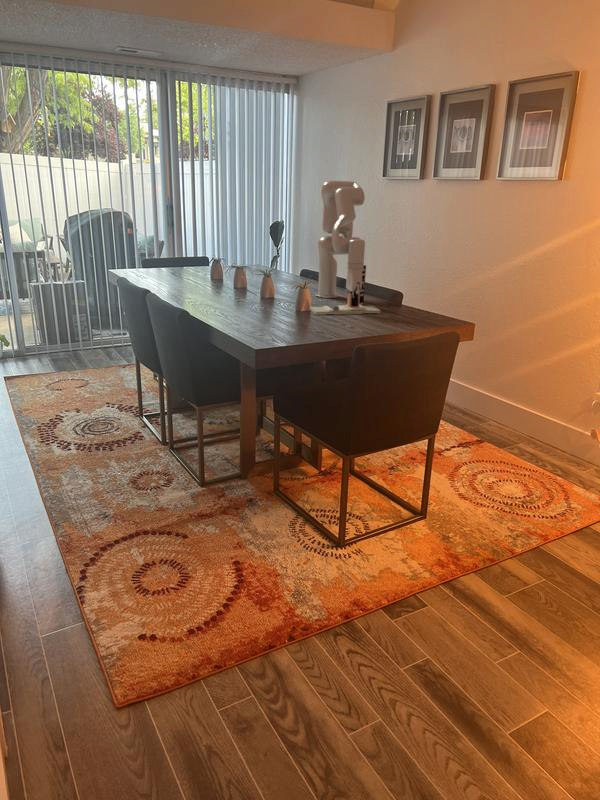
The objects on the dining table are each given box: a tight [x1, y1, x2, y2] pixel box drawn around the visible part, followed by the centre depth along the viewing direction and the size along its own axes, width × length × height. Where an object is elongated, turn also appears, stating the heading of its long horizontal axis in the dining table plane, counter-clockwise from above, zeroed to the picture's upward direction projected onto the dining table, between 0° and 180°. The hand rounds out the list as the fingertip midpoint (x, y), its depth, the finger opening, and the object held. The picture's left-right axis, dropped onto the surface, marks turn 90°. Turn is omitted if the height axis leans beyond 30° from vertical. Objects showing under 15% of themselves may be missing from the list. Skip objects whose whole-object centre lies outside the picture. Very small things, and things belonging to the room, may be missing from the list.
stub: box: [343, 293, 367, 310], centre depth 287 cm, size 10×8×7 cm
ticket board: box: [309, 301, 382, 316], centre depth 287 cm, size 12×32×4 cm, turn 104°
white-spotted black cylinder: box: [346, 264, 367, 306], centre depth 299 cm, size 8×8×20 cm
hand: (353, 304), depth 288 cm, fingers closed on stub, 3 cm apart
